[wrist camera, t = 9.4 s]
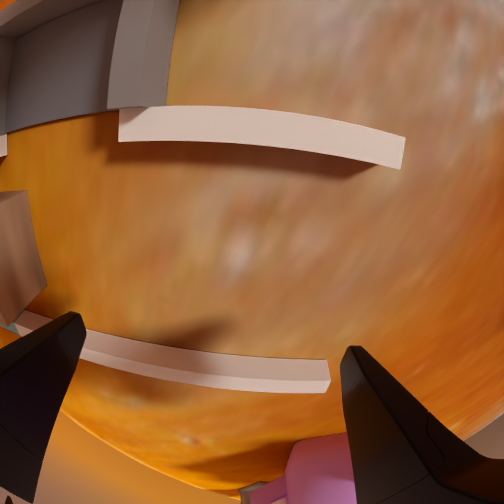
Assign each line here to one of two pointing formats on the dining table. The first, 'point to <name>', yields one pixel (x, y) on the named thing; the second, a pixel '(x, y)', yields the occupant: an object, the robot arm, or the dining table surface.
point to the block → (17, 257)
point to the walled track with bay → (153, 129)
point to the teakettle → (313, 474)
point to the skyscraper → (246, 490)
